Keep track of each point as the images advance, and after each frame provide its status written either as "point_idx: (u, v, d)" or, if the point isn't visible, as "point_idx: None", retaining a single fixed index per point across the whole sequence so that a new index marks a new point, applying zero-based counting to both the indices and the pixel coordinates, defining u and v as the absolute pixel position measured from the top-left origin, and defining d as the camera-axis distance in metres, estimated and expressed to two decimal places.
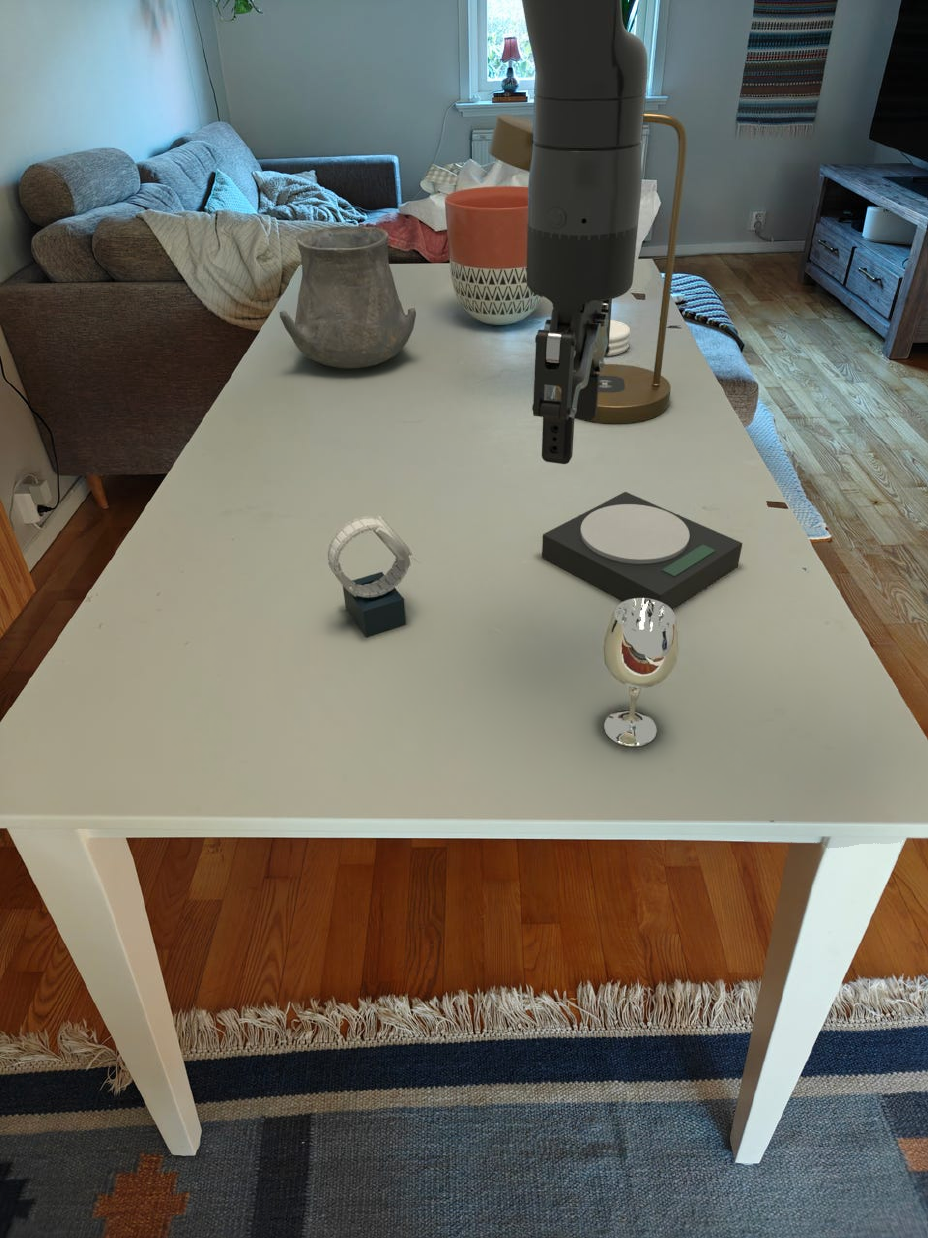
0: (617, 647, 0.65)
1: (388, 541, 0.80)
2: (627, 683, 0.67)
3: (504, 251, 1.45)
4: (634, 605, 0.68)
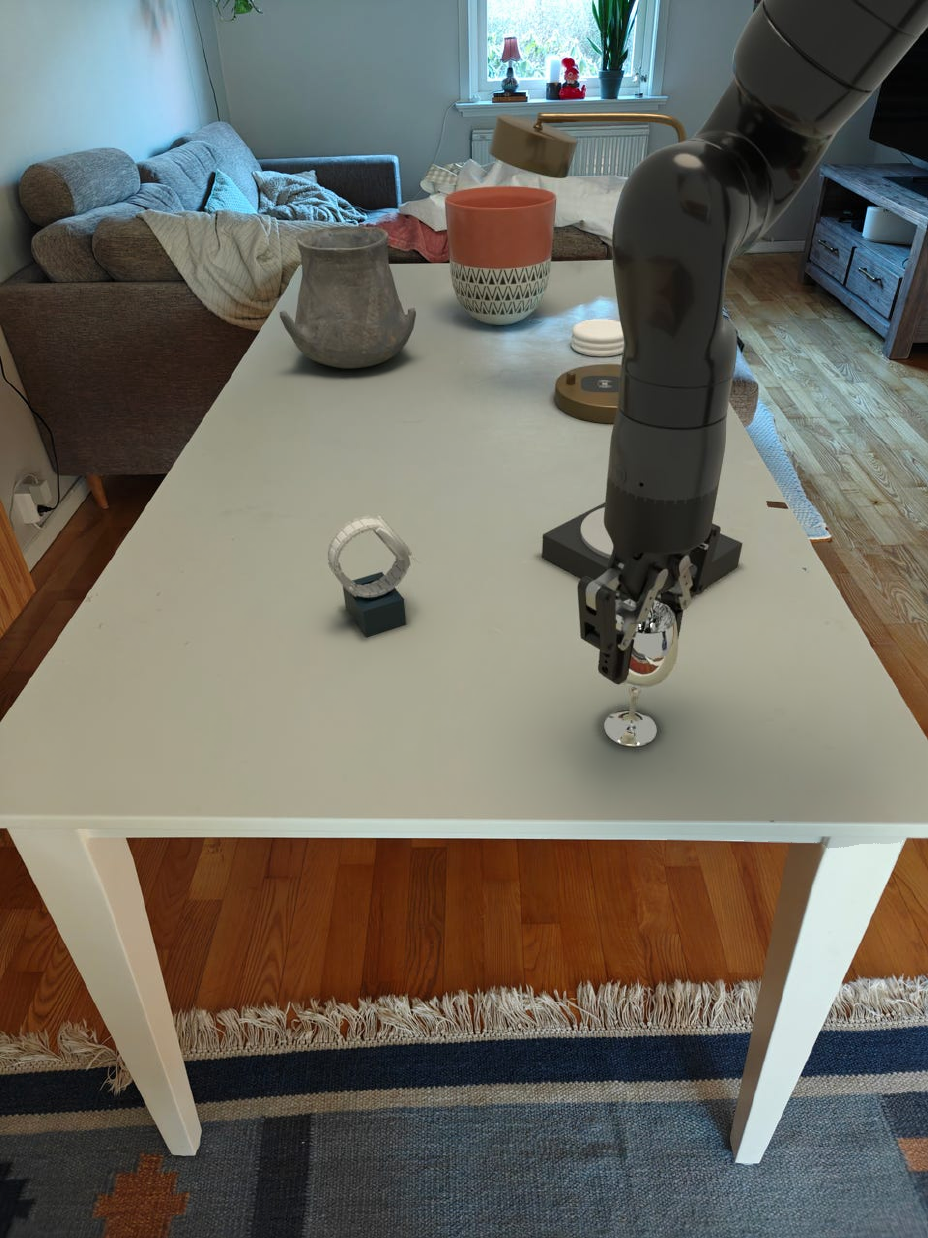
0: None
1: (388, 541, 0.80)
2: (627, 683, 0.67)
3: (504, 251, 1.45)
4: (634, 605, 0.68)
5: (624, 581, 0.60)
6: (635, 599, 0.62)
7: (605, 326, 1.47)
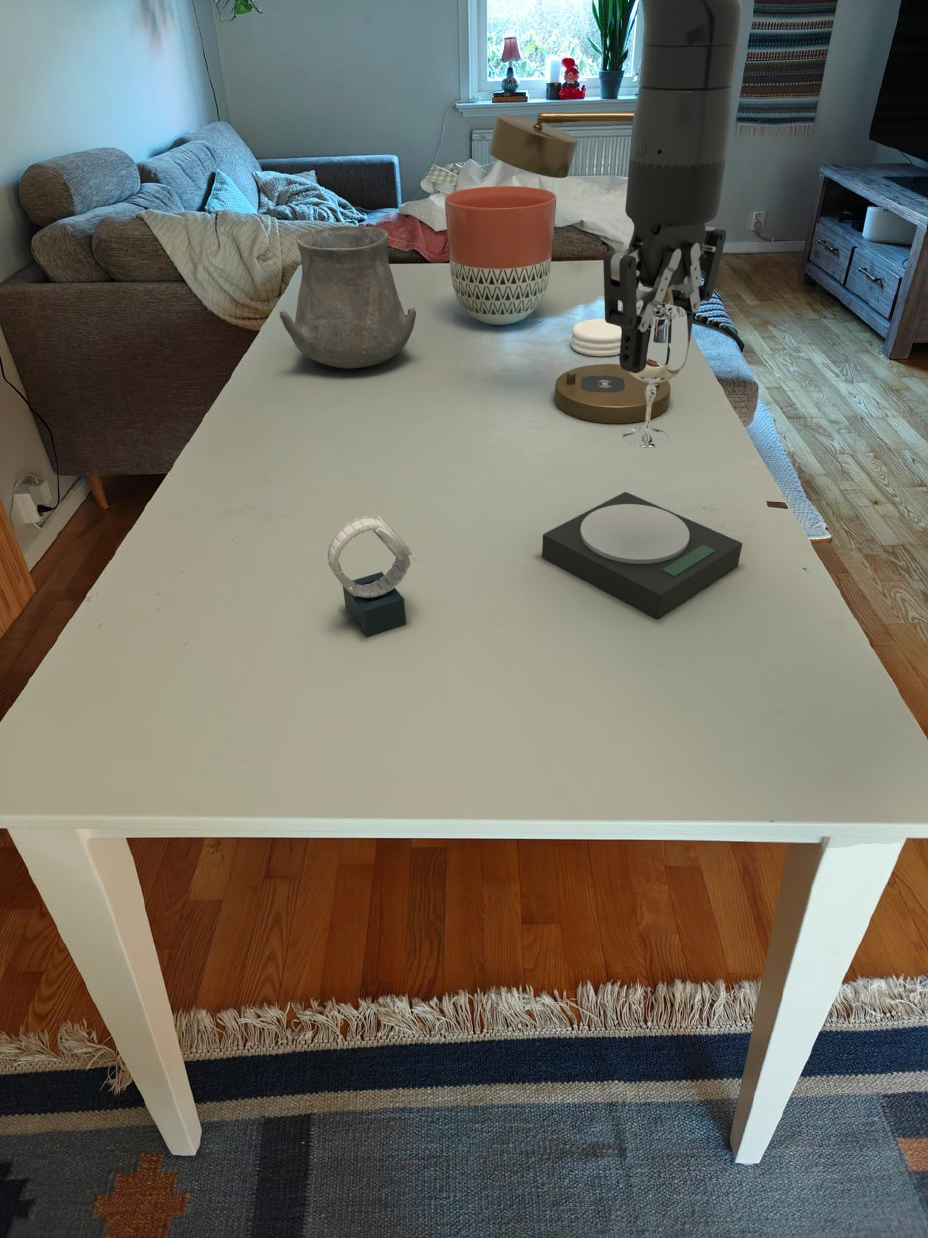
0: None
1: (388, 541, 0.80)
2: (644, 375, 0.76)
3: (504, 251, 1.45)
4: None
5: (643, 256, 0.69)
6: (652, 281, 0.71)
7: (605, 326, 1.47)
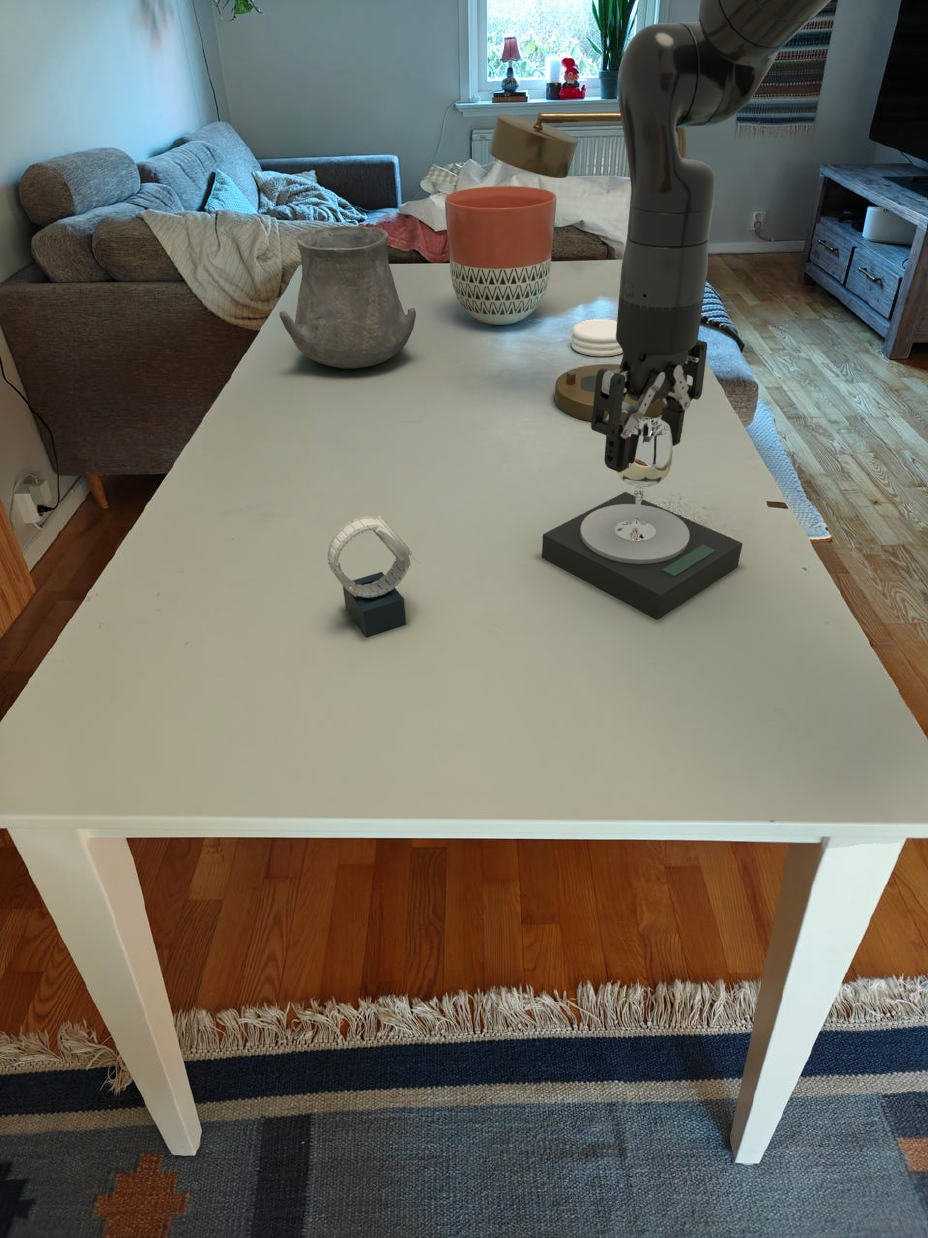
0: None
1: (388, 541, 0.80)
2: (633, 482, 0.86)
3: (504, 251, 1.45)
4: (638, 424, 0.87)
5: (631, 379, 0.78)
6: (640, 398, 0.81)
7: (605, 326, 1.47)
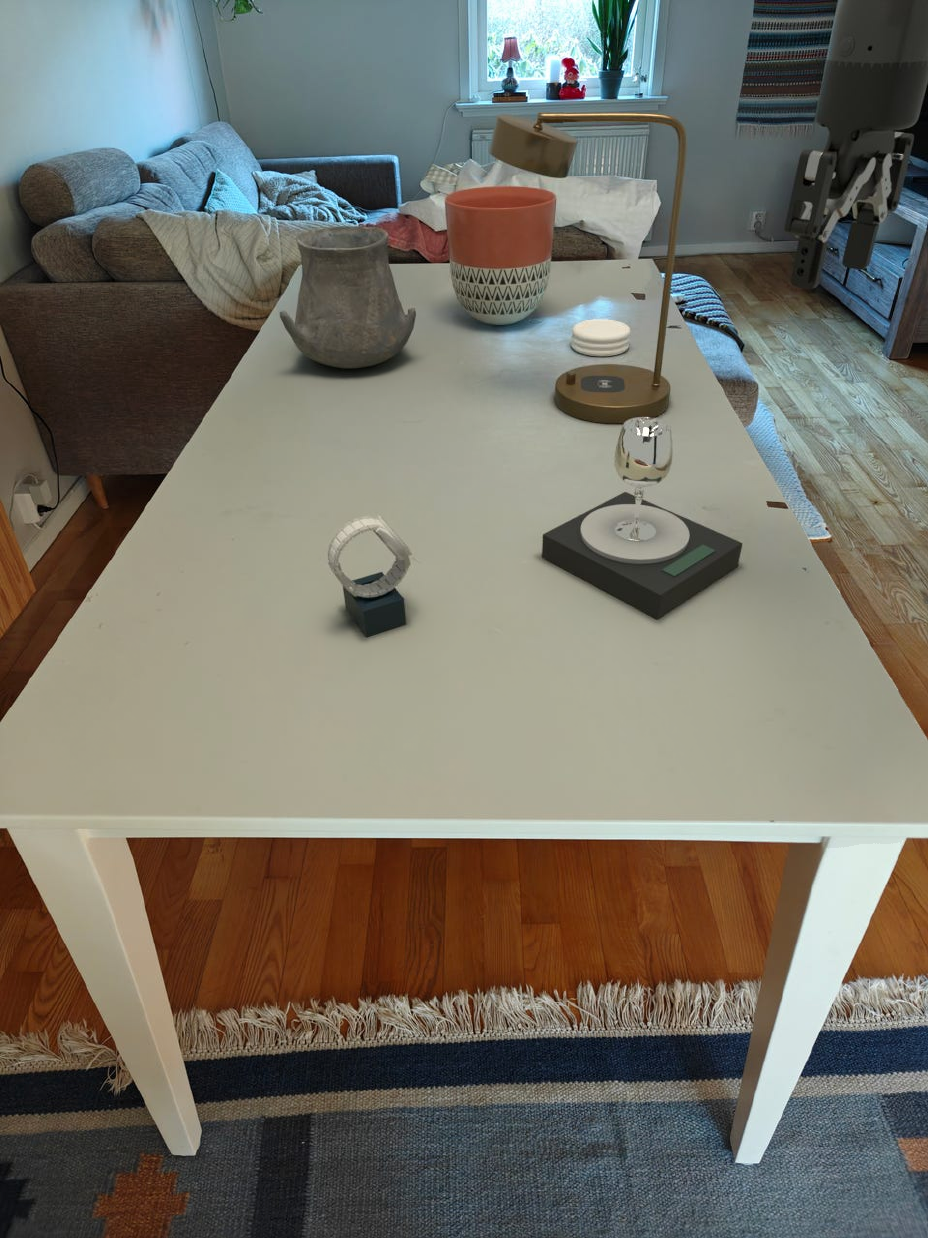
0: (625, 451, 0.84)
1: (388, 541, 0.80)
2: (633, 482, 0.86)
3: (504, 251, 1.45)
4: (638, 424, 0.87)
5: (839, 164, 0.66)
6: (842, 194, 0.68)
7: (605, 326, 1.47)
